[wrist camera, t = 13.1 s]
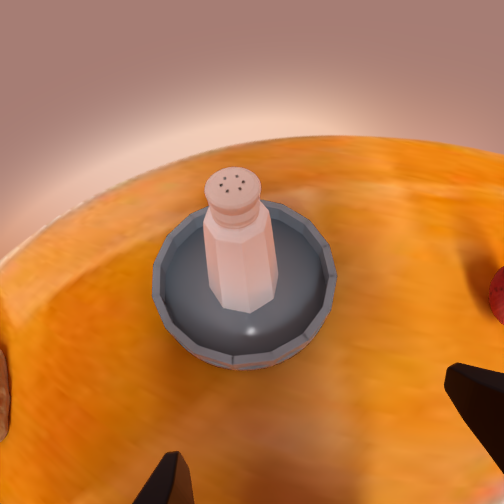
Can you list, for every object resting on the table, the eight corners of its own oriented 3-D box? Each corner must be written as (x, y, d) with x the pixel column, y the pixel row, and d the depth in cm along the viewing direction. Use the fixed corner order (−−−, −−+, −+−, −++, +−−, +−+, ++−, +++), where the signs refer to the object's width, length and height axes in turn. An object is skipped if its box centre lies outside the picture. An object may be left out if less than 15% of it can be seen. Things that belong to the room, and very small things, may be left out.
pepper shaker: (271, 246, 26) (274, 141, 17) (286, 307, 24) (301, 218, 14) (205, 258, 26) (176, 157, 16) (214, 320, 23) (179, 238, 14)
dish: (309, 391, 21) (314, 387, 19) (135, 338, 23) (123, 328, 21) (341, 234, 28) (347, 217, 26) (196, 203, 30) (191, 185, 28)
